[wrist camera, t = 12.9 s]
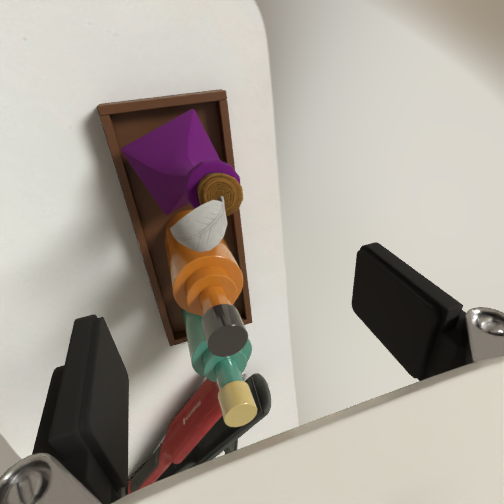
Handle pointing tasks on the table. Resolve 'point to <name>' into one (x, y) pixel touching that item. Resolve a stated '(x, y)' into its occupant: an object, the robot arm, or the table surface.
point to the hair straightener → (198, 434)
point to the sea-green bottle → (222, 373)
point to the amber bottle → (208, 290)
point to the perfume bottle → (187, 179)
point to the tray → (144, 205)
